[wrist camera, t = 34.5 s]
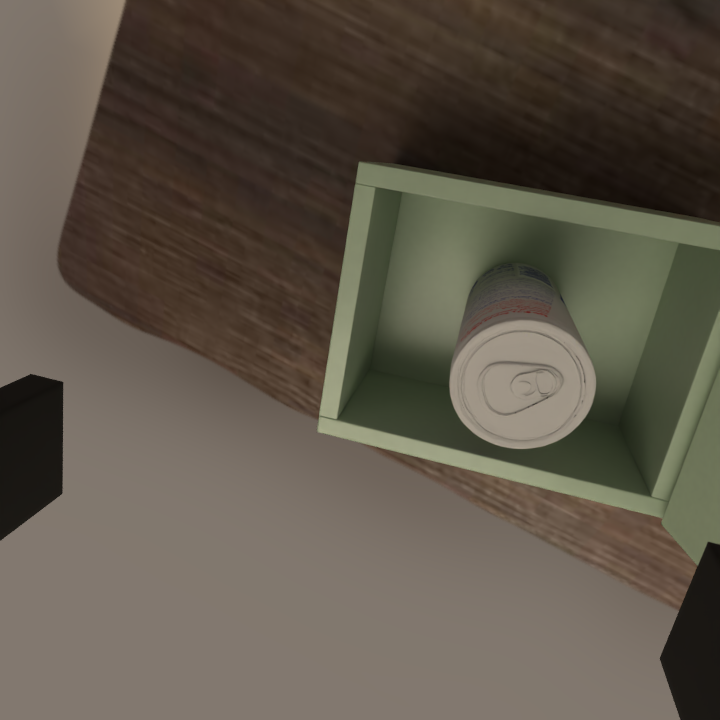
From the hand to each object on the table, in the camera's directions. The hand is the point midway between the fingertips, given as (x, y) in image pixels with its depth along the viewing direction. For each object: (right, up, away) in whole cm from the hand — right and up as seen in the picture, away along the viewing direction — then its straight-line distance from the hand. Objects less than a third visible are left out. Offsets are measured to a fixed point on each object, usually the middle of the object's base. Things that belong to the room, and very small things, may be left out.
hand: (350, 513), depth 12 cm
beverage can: (+10, +6, +26) cm, 28 cm away
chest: (+10, +7, +26) cm, 29 cm away
